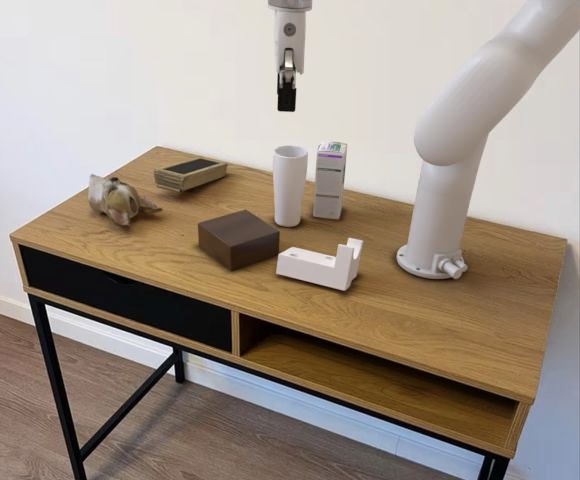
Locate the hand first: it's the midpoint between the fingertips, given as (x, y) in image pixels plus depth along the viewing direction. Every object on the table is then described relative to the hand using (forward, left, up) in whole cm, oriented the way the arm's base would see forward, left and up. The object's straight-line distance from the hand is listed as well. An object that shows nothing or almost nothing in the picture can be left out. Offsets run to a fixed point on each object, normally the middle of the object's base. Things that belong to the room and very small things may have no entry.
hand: (285, 102), depth 117 cm
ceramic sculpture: (+13, +30, -24) cm, 41 cm away
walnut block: (-8, +13, -24) cm, 28 cm away
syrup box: (0, -11, -24) cm, 27 cm away
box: (+24, +10, -24) cm, 35 cm away
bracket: (-22, +3, -24) cm, 33 cm away
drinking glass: (-1, -1, -24) cm, 24 cm away
